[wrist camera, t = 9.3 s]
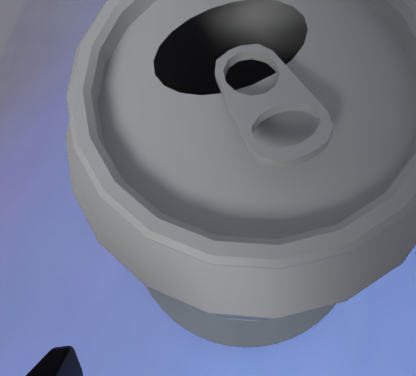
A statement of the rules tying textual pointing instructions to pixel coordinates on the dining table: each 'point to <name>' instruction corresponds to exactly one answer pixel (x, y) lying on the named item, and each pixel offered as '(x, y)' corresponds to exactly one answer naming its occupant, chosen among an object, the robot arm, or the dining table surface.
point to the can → (248, 147)
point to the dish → (238, 324)
